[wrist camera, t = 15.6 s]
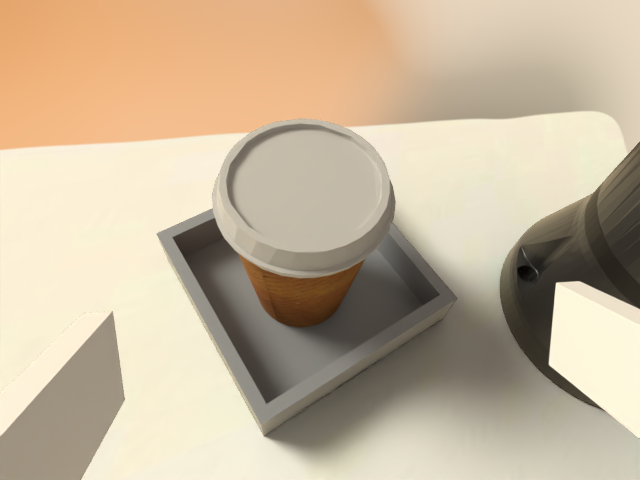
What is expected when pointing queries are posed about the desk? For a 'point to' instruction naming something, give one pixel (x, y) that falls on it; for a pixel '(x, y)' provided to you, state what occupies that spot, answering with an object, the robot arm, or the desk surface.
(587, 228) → the robot arm
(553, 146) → the desk surface
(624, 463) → the desk surface
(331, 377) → the charcoal tray
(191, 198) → the desk surface
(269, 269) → the disposable coffee cup
